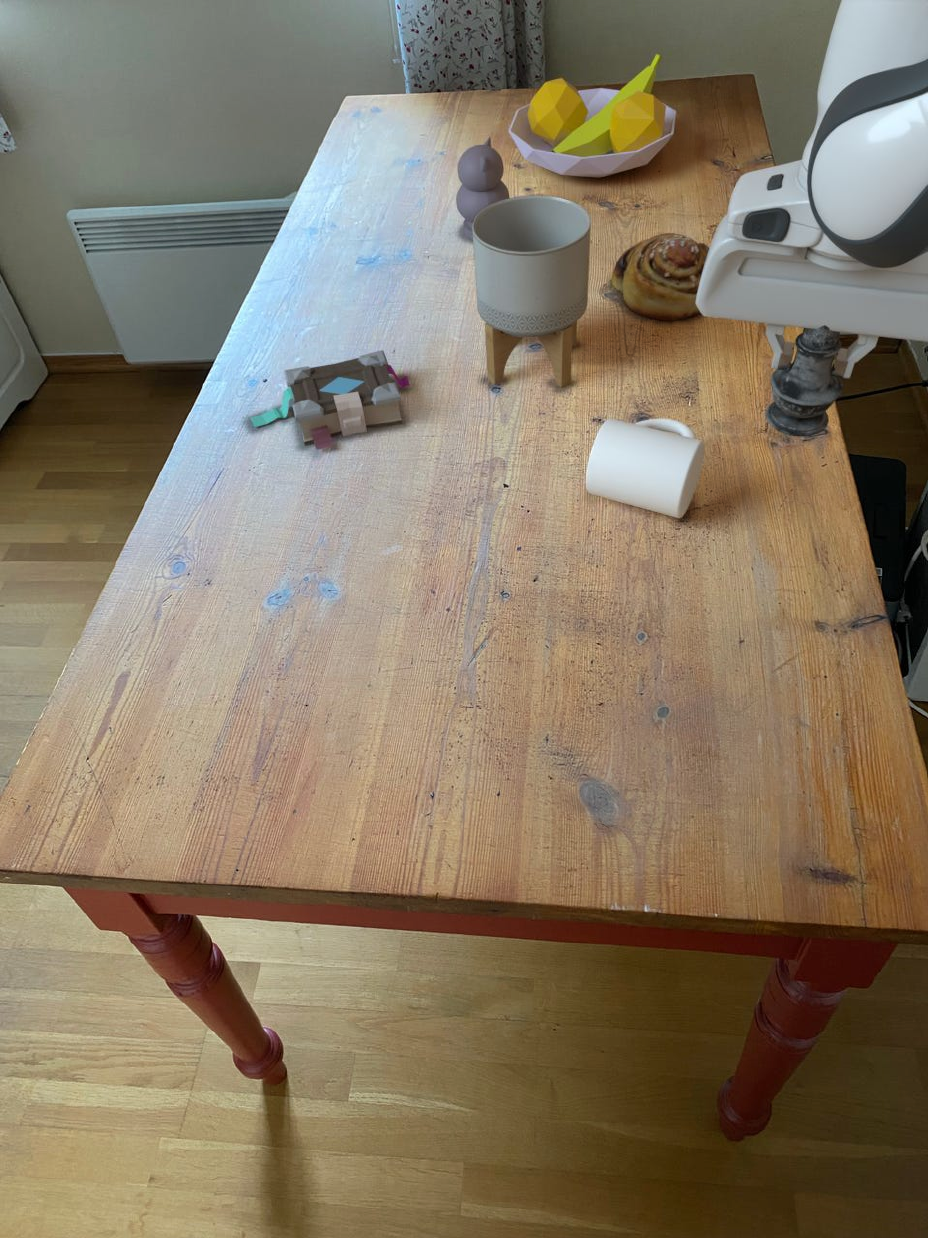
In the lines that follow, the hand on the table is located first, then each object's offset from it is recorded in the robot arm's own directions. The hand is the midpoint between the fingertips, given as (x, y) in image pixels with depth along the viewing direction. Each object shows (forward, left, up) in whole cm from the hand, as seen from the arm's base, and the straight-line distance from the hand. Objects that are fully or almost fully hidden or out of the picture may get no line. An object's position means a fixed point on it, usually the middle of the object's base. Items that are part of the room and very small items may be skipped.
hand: (809, 369), depth 74 cm
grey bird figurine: (+47, -55, -20) cm, 74 cm away
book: (+51, -8, -20) cm, 55 cm away
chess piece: (0, 0, -5) cm, 5 cm away
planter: (+31, -24, -20) cm, 43 cm away
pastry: (+18, -44, -20) cm, 51 cm away
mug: (+13, -5, -20) cm, 24 cm away
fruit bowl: (+36, -82, -20) cm, 91 cm away
